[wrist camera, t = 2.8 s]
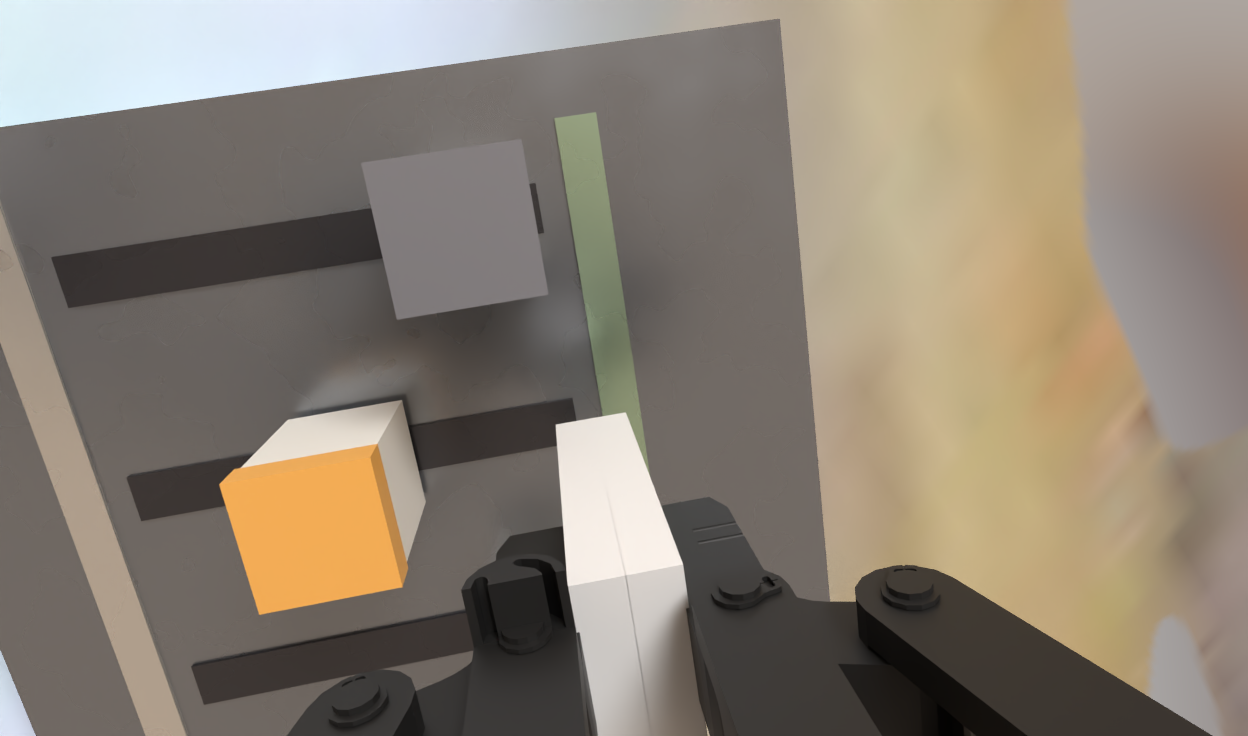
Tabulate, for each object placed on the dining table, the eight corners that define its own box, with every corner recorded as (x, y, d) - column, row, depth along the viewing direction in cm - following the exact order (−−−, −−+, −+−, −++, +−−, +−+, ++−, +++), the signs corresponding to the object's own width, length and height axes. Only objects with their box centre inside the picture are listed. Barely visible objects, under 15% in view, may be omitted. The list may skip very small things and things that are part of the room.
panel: (110, 769, 23) (70, 826, 21) (-128, 158, 18) (-209, 155, 16) (811, 625, 25) (836, 664, 23) (755, 33, 20) (780, 18, 18)
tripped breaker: (314, 524, 20) (259, 614, 16) (285, 418, 19) (219, 484, 15) (428, 503, 20) (402, 587, 16) (403, 397, 19) (369, 457, 15)
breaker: (425, 288, 18) (396, 319, 14) (398, 165, 18) (360, 162, 14) (544, 269, 19) (549, 294, 15) (522, 147, 18) (521, 138, 14)
